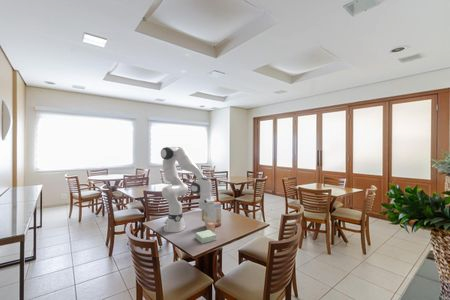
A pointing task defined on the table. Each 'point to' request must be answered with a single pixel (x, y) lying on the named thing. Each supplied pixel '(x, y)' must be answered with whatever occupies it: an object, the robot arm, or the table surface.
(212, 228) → the terracotta block
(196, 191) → the robot arm
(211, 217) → the cracker box
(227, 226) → the table surface
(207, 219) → the beech block
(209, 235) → the sage pedestal block
